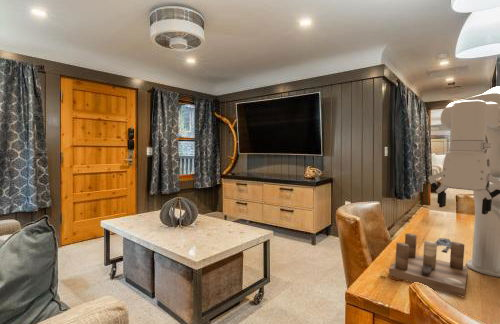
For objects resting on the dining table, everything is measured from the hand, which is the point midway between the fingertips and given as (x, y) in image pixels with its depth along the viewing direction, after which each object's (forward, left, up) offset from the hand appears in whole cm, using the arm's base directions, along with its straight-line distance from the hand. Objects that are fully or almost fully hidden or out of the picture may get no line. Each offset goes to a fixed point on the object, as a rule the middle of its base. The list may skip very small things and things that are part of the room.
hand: (462, 210), depth 77 cm
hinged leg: (-3, -14, -23) cm, 27 cm away
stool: (-5, -16, -26) cm, 31 cm away
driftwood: (-35, -42, -27) cm, 61 cm away
